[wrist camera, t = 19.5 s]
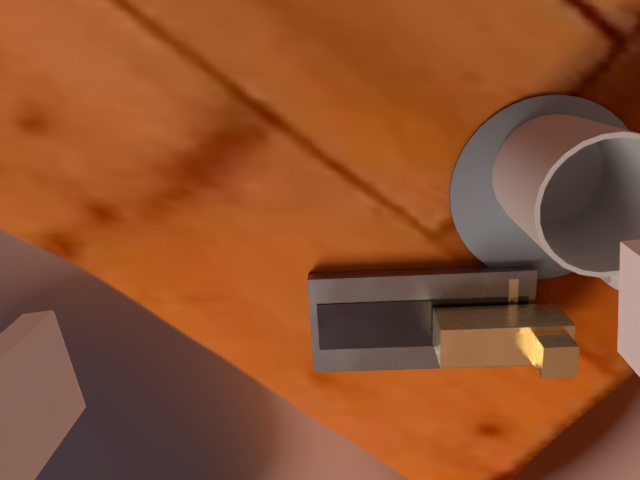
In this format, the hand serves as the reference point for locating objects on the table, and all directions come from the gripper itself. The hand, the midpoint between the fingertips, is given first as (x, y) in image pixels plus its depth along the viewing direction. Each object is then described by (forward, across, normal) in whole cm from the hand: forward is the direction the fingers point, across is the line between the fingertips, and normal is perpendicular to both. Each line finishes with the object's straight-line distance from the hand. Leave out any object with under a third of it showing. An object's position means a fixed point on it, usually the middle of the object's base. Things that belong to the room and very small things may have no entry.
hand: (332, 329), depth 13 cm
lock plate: (+24, +4, -12) cm, 27 cm away
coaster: (+24, +12, -5) cm, 28 cm away
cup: (+24, +13, -5) cm, 28 cm away
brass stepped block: (+22, +8, -13) cm, 27 cm away
